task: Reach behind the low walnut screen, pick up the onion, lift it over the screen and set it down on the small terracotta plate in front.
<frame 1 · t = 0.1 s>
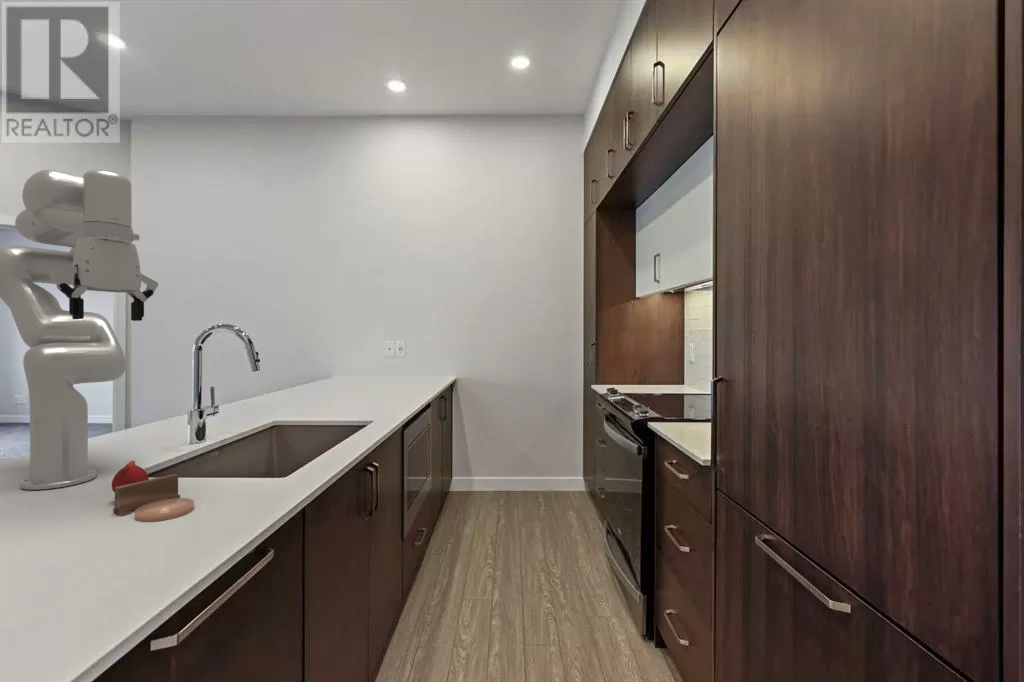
hand: (108, 319, 96), 37 cm above the countertop, tool pointing down, fingers open, 9 cm apart
plate: (165, 512, 90), on the countertop
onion: (130, 501, 96), on the countertop
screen: (147, 506, 93), on the countertop
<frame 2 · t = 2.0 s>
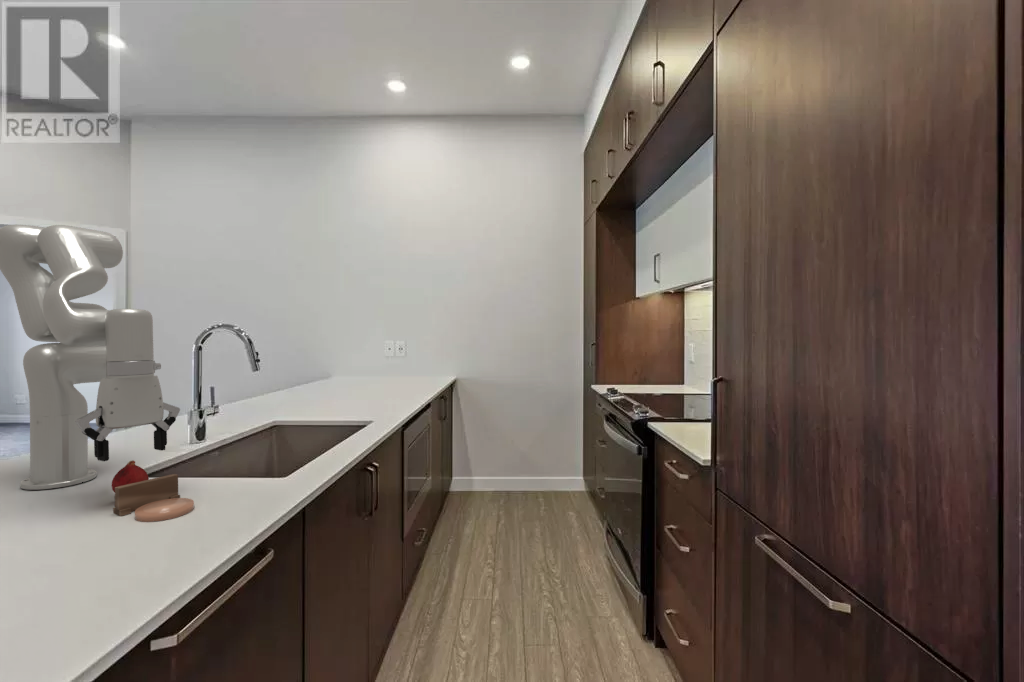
hand: (132, 454, 96), 9 cm above the countertop, tool pointing down, fingers open, 9 cm apart
nothing on the countertop moved.
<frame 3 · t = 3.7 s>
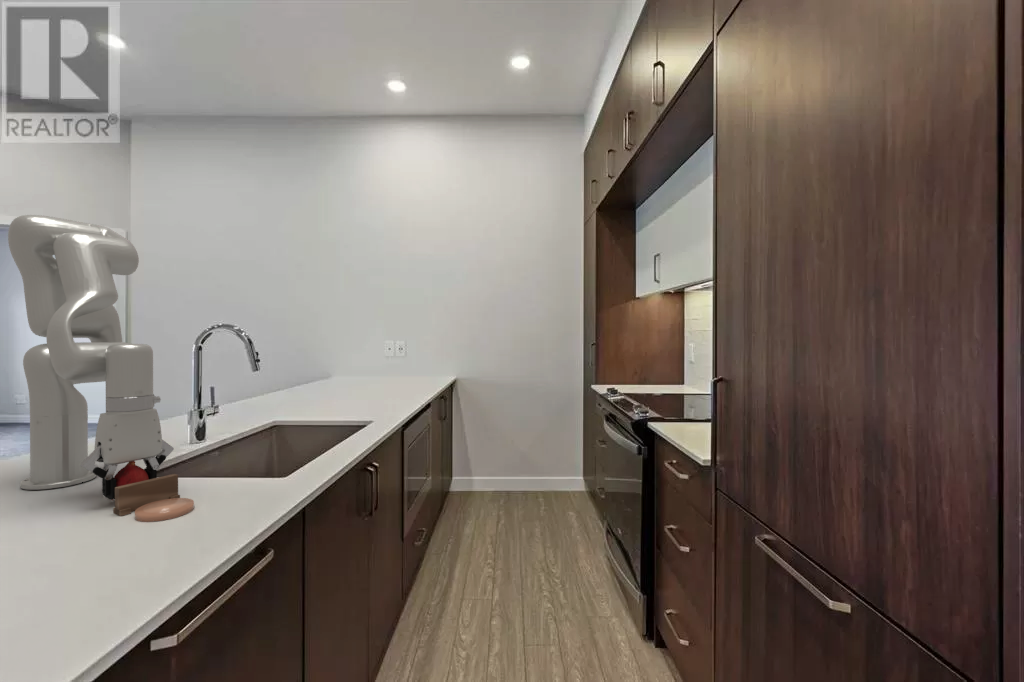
hand: (130, 492, 96), 2 cm above the countertop, tool pointing down, fingers closed on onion, 5 cm apart
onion: (130, 501, 96), on the countertop, touching gripper
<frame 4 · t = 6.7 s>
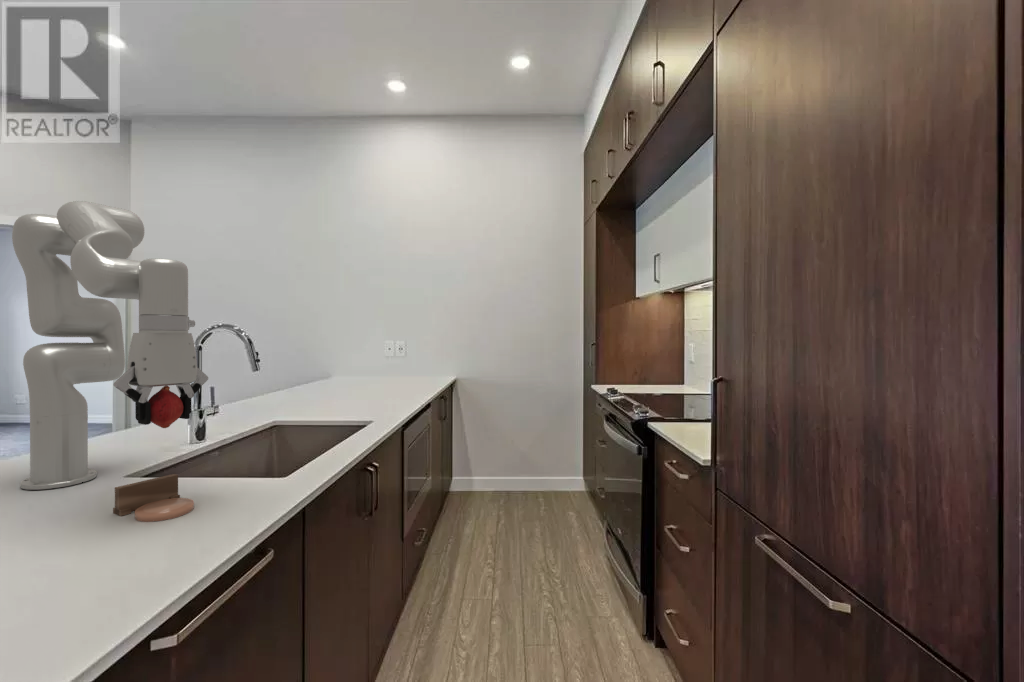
hand: (164, 420, 90), 18 cm above the countertop, tool pointing down, fingers closed on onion, 5 cm apart
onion: (164, 429, 90), point 16 cm above the countertop, touching gripper
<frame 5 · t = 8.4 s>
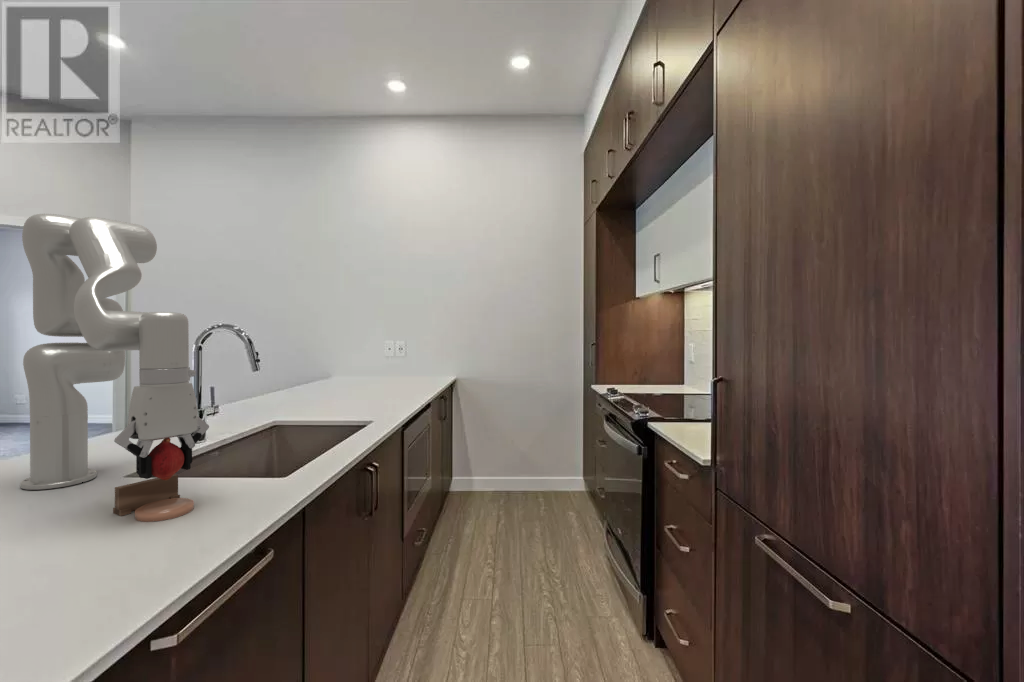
hand: (165, 472, 90), 8 cm above the countertop, tool pointing down, fingers closed on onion, 5 cm apart
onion: (165, 481, 90), point 6 cm above the countertop, touching gripper
when the fingers open (5 cm above the countertop, at t = 9.9 s): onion drops 2 cm, resting on plate.
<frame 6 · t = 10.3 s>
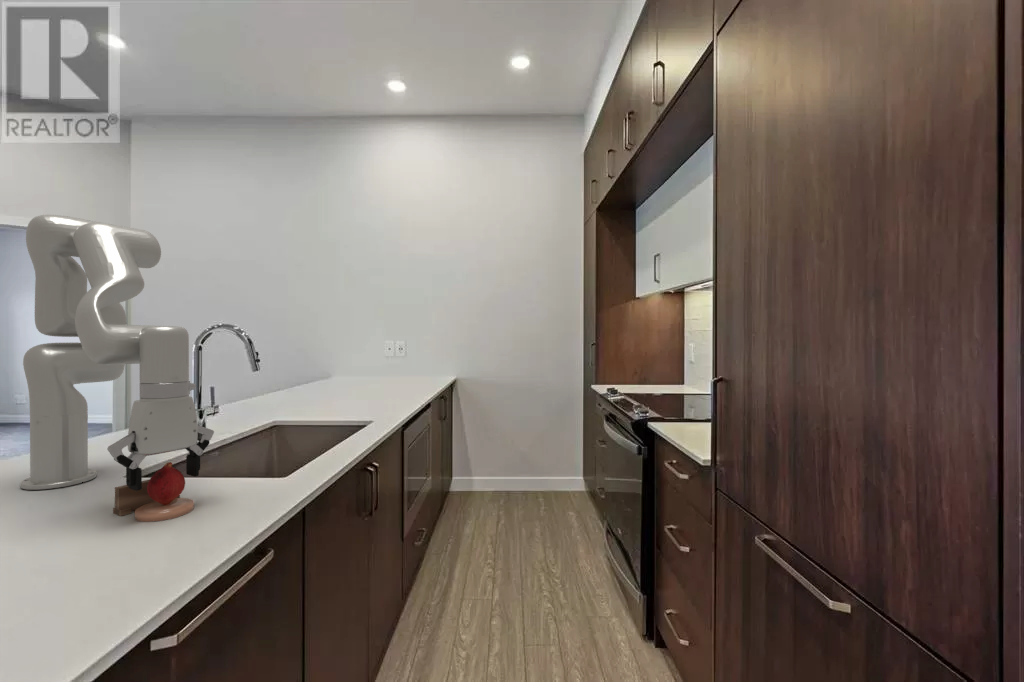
hand: (165, 481, 90), 6 cm above the countertop, tool pointing down, fingers open, 9 cm apart
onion: (165, 506, 90), point 1 cm above the countertop, touching plate
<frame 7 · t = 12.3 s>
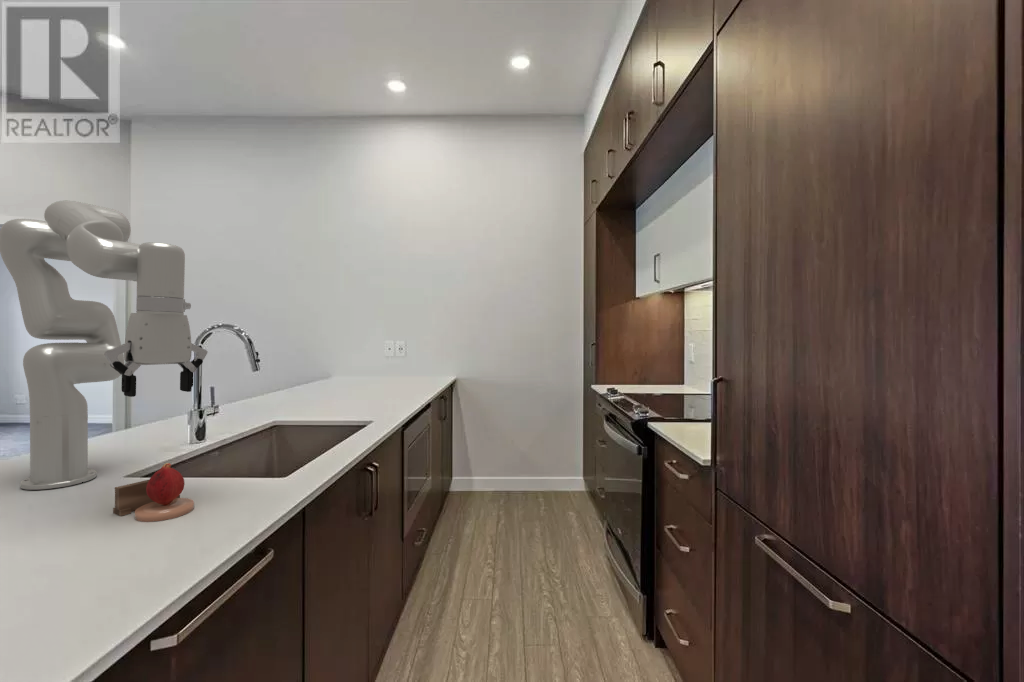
hand: (158, 393, 94), 22 cm above the countertop, tool pointing down, fingers open, 9 cm apart
nothing on the countertop moved.
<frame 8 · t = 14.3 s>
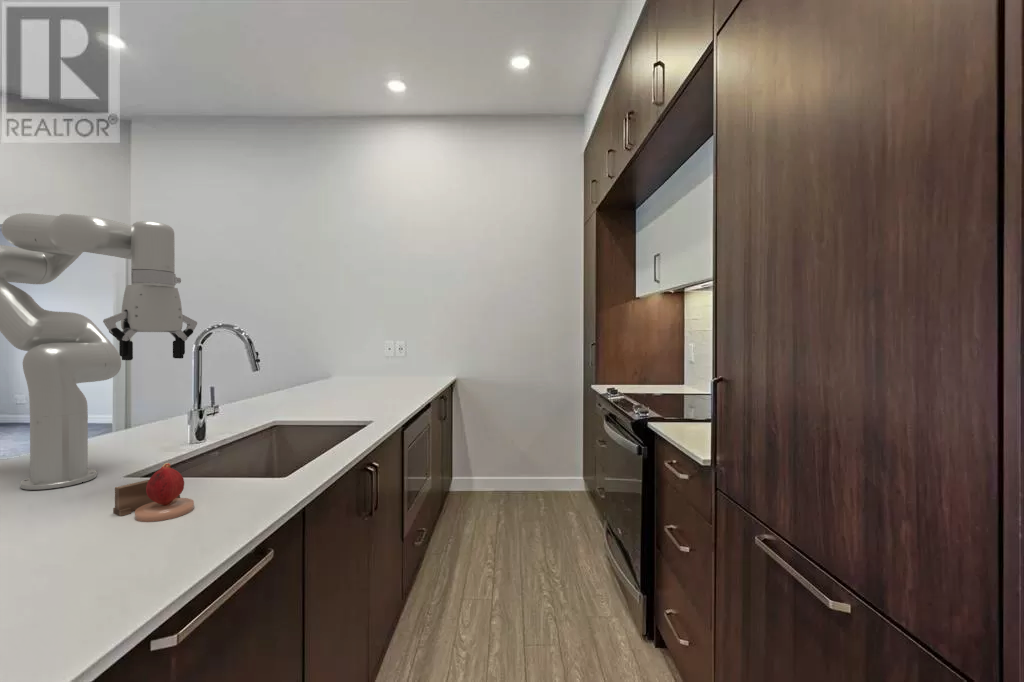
hand: (153, 359, 103), 28 cm above the countertop, tool pointing down, fingers open, 9 cm apart
nothing on the countertop moved.
at the end: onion 0.2 cm from the plate (horizontally); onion touching plate; the gripper is holding nothing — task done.
